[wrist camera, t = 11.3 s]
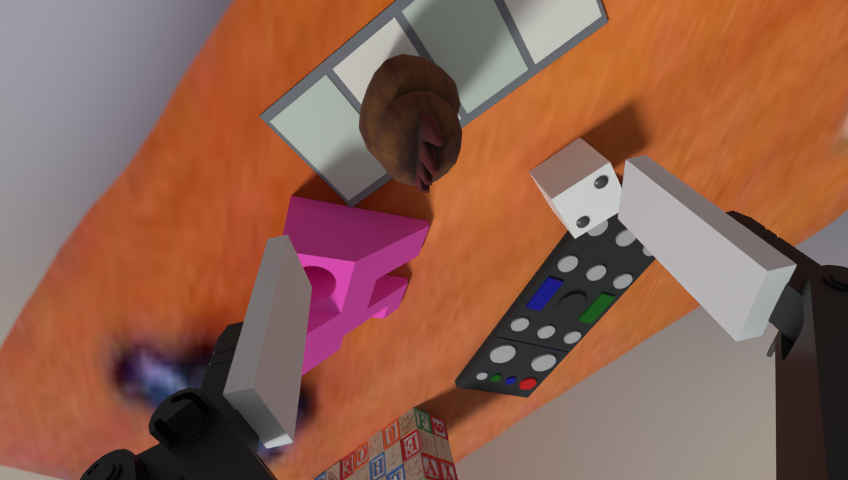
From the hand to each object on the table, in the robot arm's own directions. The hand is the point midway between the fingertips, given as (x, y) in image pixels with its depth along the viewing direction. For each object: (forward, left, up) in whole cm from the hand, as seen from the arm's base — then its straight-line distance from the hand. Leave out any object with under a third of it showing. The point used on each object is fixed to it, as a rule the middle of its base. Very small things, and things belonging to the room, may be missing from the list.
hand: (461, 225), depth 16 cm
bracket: (+8, +13, -18) cm, 24 cm away
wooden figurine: (0, 0, -18) cm, 18 cm away
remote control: (-12, +27, -19) cm, 35 cm away
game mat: (-2, -1, -18) cm, 18 cm away
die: (-13, +10, -18) cm, 24 cm away
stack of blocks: (+14, +48, -18) cm, 53 cm away
